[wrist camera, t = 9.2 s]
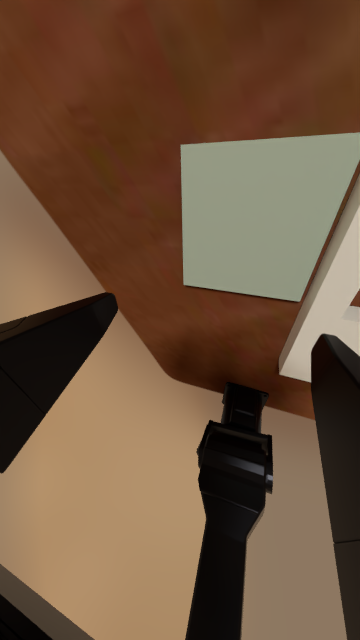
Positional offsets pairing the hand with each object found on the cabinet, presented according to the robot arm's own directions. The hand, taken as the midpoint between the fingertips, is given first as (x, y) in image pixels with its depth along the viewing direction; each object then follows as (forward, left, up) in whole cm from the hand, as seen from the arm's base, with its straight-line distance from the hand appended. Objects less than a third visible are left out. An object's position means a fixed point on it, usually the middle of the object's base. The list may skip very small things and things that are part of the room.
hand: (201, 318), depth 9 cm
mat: (+1, -1, -13) cm, 13 cm away
